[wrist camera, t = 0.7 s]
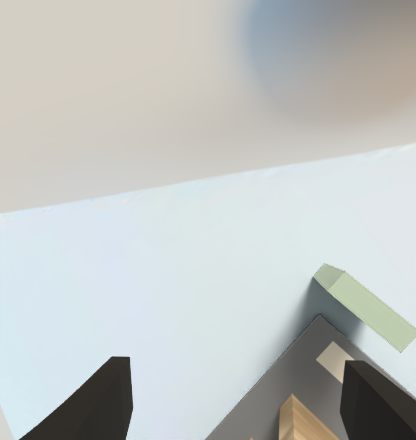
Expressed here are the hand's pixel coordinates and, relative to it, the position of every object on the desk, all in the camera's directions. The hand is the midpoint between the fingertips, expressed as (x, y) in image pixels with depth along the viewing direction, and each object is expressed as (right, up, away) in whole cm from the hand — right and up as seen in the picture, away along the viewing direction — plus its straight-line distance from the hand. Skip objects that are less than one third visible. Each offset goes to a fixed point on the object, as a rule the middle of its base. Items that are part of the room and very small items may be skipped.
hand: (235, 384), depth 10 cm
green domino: (+11, -1, +17) cm, 20 cm away
